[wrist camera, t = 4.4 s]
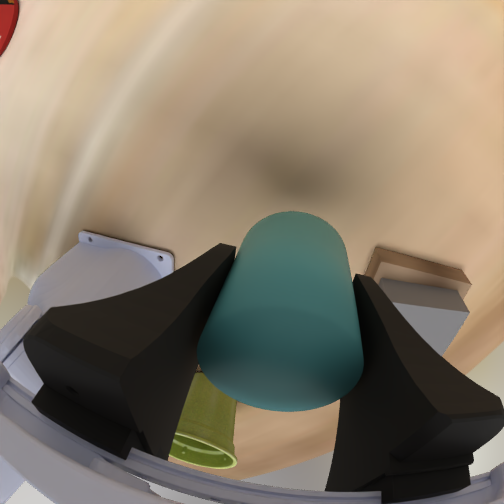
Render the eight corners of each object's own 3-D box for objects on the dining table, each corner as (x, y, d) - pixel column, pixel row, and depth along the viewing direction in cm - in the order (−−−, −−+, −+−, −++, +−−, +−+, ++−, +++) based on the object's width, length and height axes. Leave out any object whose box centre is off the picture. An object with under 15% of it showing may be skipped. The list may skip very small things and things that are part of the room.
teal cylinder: (234, 292, 13) (195, 392, 8) (248, 200, 11) (199, 286, 6) (329, 312, 13) (329, 419, 8) (361, 226, 11) (393, 327, 6)
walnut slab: (339, 325, 23) (341, 346, 21) (374, 243, 19) (381, 261, 17) (417, 338, 23) (423, 358, 21) (459, 266, 19) (471, 284, 16)
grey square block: (352, 345, 21) (354, 370, 19) (381, 277, 18) (388, 301, 16) (421, 352, 20) (428, 374, 18) (457, 290, 17) (469, 312, 15)
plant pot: (268, 403, 30) (255, 470, 23) (205, 411, 34) (186, 467, 26) (220, 353, 27) (193, 430, 19) (157, 368, 31) (127, 428, 23)
